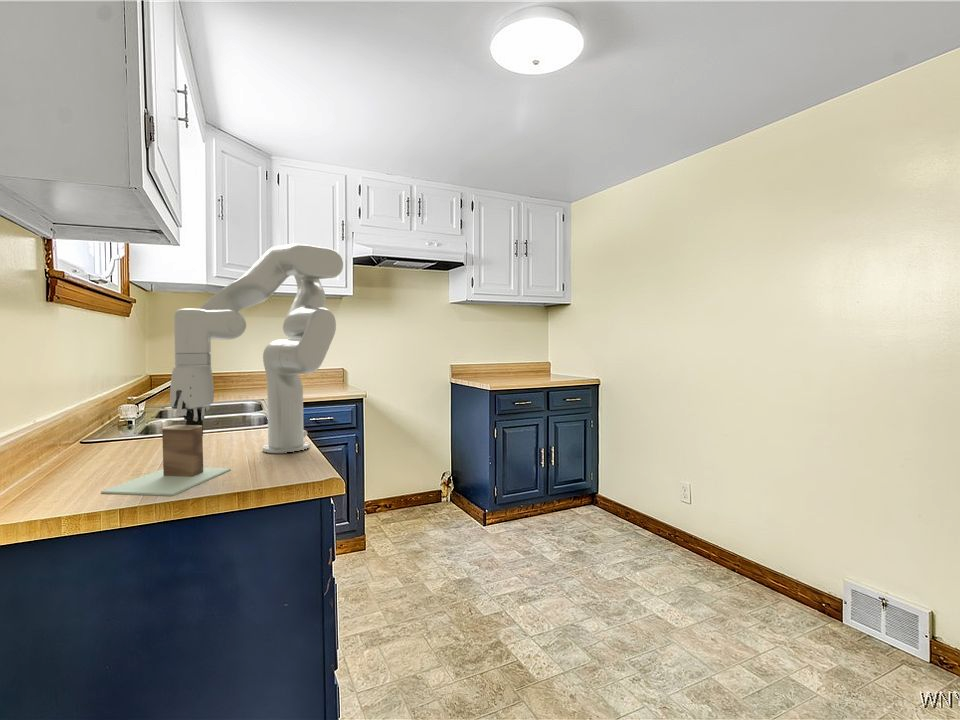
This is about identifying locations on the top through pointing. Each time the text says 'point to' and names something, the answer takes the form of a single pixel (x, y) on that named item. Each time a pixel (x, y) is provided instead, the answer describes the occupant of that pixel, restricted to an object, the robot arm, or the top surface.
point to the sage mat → (164, 483)
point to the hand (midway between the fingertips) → (194, 436)
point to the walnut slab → (182, 450)
